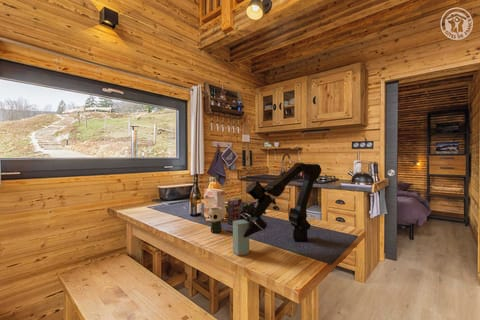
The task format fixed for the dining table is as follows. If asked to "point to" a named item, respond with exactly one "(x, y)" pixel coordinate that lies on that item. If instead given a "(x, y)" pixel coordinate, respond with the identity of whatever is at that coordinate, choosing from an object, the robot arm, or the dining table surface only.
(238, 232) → the sage green block
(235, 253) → the post
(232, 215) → the supplement box
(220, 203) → the coffeecake box
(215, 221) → the cream head figurine
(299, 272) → the dining table surface
